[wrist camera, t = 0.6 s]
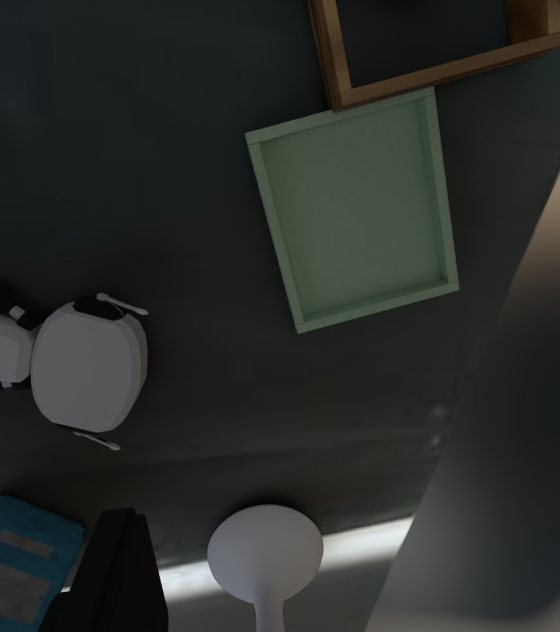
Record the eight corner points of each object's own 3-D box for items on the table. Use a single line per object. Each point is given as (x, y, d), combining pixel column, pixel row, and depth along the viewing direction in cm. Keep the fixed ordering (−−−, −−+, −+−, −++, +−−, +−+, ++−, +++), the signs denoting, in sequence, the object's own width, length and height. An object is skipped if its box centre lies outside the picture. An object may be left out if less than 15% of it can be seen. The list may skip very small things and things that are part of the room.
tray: (244, 135, 33) (244, 133, 31) (422, 86, 33) (433, 81, 31) (294, 325, 38) (297, 334, 36) (448, 283, 38) (459, 290, 36)
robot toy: (-33, 385, 38) (139, 427, 40) (-73, 412, 34) (122, 457, 35) (-22, 249, 35) (167, 299, 36) (-64, 259, 31) (152, 316, 32)
